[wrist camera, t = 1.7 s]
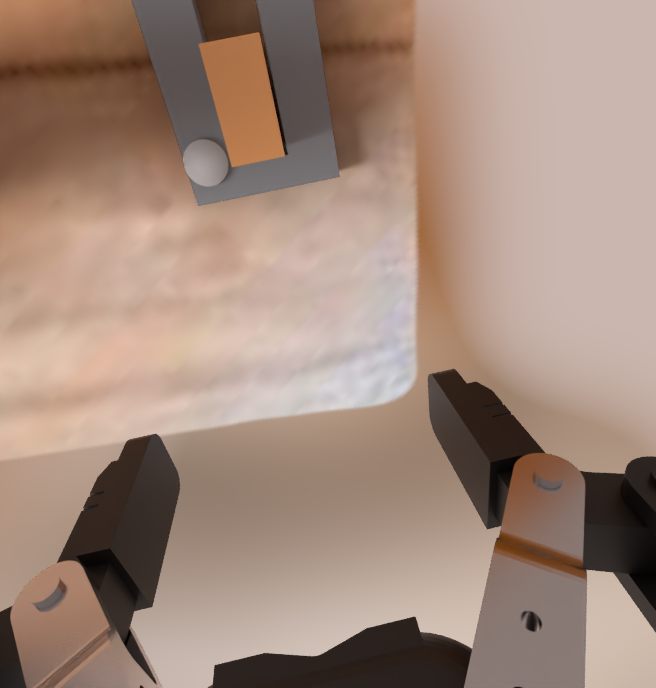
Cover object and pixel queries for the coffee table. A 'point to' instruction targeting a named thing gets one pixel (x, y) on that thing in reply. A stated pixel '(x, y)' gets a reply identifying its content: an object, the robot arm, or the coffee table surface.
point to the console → (199, 108)
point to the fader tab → (243, 98)
